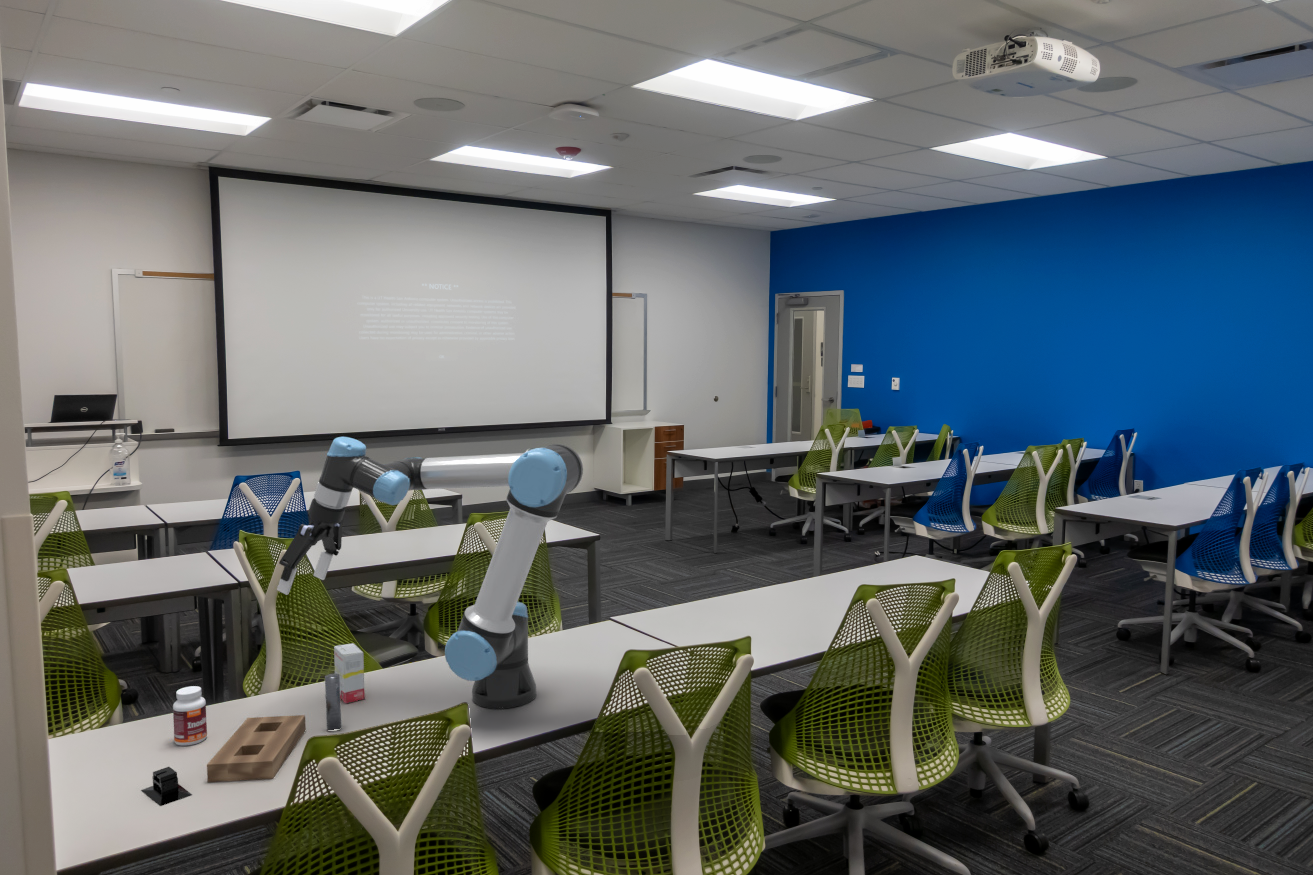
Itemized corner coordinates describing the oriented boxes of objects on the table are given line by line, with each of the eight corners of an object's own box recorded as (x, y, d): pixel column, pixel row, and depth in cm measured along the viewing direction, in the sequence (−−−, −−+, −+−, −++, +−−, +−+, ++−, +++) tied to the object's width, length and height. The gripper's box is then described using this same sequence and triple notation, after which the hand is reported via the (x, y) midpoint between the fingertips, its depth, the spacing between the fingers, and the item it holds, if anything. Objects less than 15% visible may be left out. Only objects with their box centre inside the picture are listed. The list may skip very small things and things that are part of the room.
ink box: (365, 699, 206) (364, 651, 205) (344, 704, 203) (343, 655, 202) (355, 688, 213) (353, 641, 212) (334, 693, 210) (332, 645, 209)
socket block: (305, 730, 189) (305, 714, 188) (272, 778, 167) (272, 760, 167) (248, 733, 187) (247, 717, 187) (207, 781, 166) (206, 764, 165)
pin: (343, 725, 191) (341, 673, 190) (339, 731, 188) (337, 678, 187) (328, 726, 191) (326, 673, 190) (325, 732, 188) (323, 678, 187)
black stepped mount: (133, 791, 163) (131, 768, 163) (174, 777, 169) (173, 754, 168) (158, 814, 155) (157, 789, 155) (201, 798, 161) (200, 774, 160)
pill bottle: (190, 748, 180) (188, 697, 179) (167, 744, 182) (164, 693, 181) (214, 735, 186) (211, 686, 185) (191, 732, 188) (188, 683, 187)
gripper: (346, 488, 211) (319, 565, 214) (281, 504, 186) (251, 591, 190) (372, 500, 209) (345, 578, 213) (310, 518, 185) (280, 605, 189)
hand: (301, 584), depth 201 cm, fingers open, 13 cm apart
